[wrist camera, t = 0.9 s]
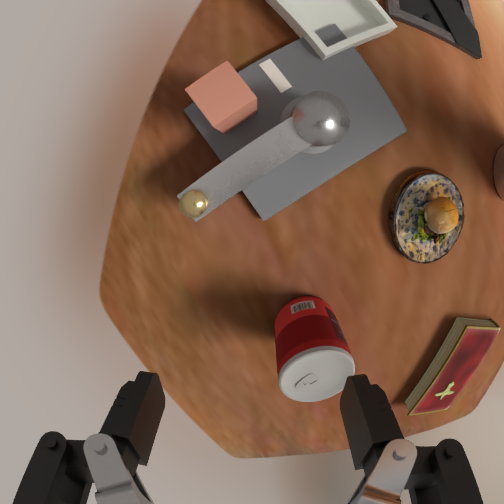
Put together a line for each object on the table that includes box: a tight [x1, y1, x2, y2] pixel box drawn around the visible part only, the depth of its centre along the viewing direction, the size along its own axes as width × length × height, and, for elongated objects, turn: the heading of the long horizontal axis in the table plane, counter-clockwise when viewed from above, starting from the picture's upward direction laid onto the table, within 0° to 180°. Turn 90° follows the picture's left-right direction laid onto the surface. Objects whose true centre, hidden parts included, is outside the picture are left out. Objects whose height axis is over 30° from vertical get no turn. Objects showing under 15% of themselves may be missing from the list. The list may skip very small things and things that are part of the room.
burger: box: [388, 170, 465, 264], centre depth 27 cm, size 12×12×8 cm
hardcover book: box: [405, 317, 500, 416], centre depth 38 cm, size 12×21×4 cm, turn 169°
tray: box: [265, 0, 397, 60], centre depth 21 cm, size 11×11×3 cm
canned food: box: [274, 296, 355, 402], centre depth 30 cm, size 8×8×11 cm
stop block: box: [185, 61, 257, 134], centre depth 22 cm, size 4×4×8 cm
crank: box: [177, 91, 350, 222], centre depth 25 cm, size 17×5×6 cm, turn 125°
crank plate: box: [184, 24, 407, 221], centre depth 26 cm, size 20×15×1 cm
